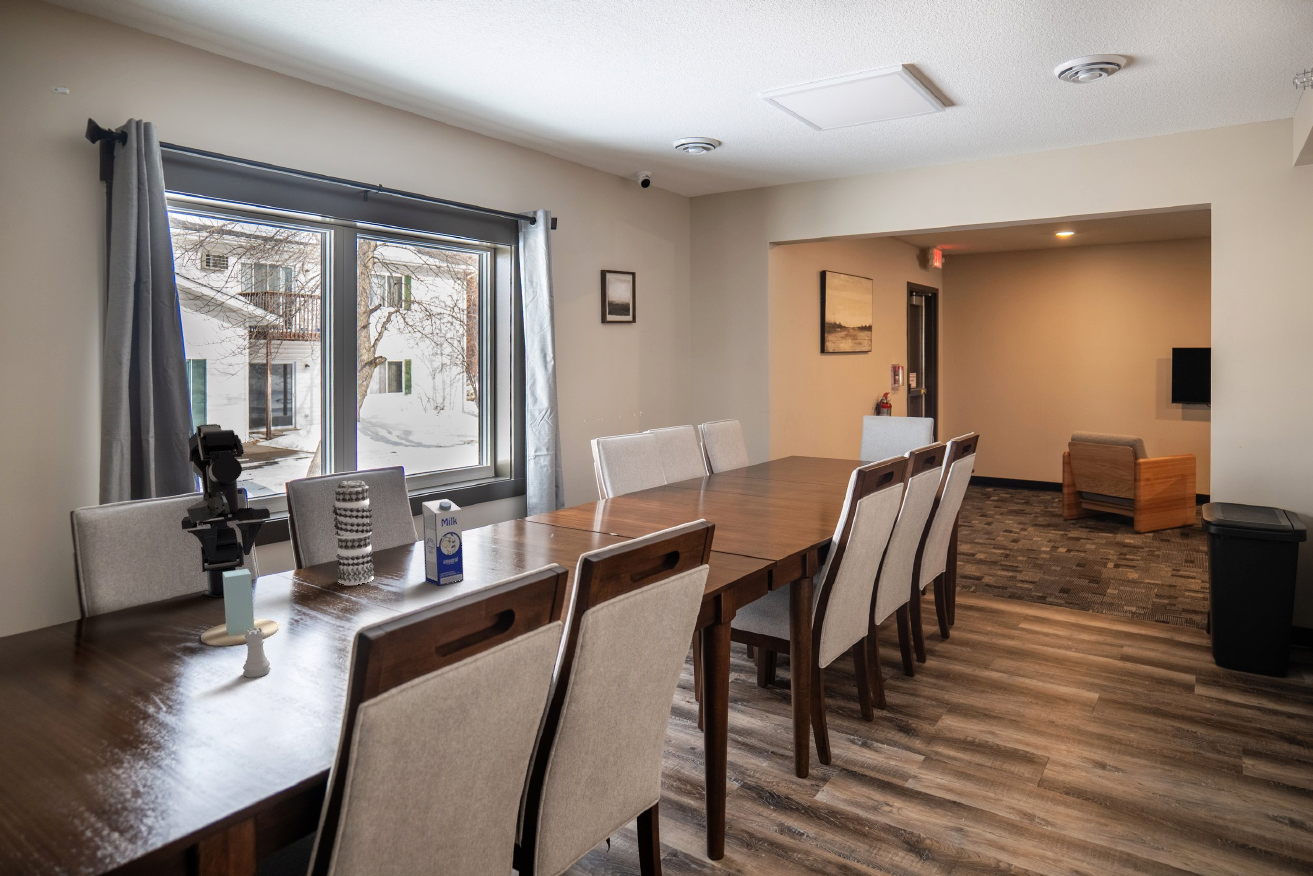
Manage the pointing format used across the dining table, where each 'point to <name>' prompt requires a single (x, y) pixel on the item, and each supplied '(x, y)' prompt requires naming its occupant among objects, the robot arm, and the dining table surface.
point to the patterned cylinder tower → (353, 533)
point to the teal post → (238, 601)
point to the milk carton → (442, 542)
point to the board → (221, 637)
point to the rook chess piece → (255, 655)
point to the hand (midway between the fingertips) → (229, 557)
